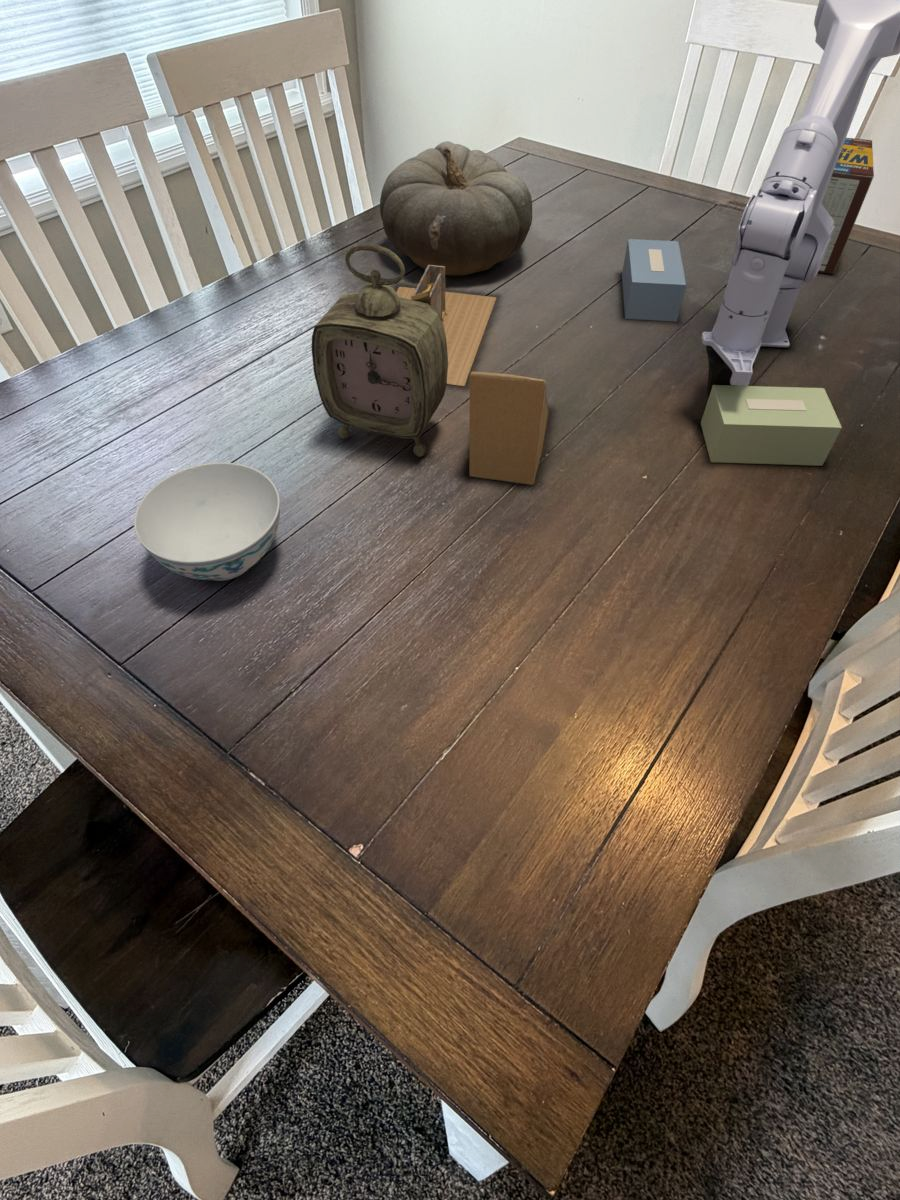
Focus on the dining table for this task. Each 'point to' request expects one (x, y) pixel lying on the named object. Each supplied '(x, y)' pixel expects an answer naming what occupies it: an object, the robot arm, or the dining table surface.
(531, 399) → the sandwich container
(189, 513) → the chinaware
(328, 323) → the tabletop clock
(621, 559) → the dining table surface
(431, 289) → the architectural model on board
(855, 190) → the protein box
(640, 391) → the dining table surface
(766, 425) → the front tissue box
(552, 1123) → the dining table surface
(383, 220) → the gourd
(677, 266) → the back tissue box
